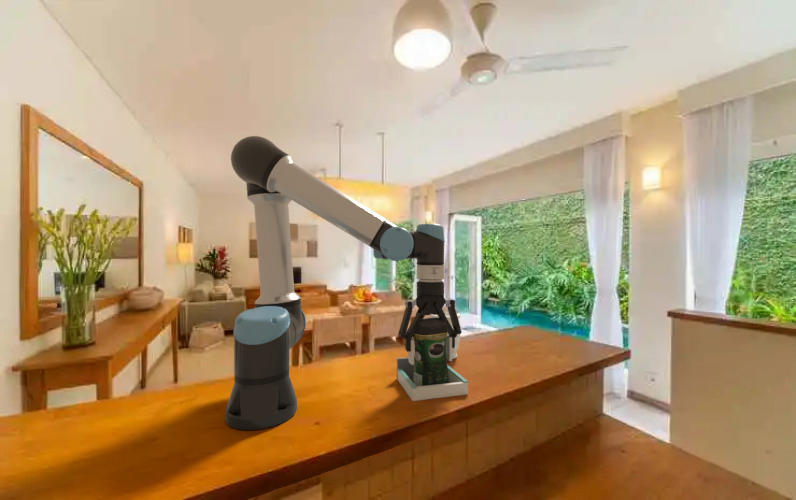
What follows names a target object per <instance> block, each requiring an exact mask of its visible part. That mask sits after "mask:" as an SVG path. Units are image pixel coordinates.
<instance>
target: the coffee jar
mask: <svg viewBox="0 0 796 500" xmlns="http://www.w3.org/2000/svg"><path fill="white" fill-rule="evenodd" d="M447 335H448V330H447V324H446V321H445V320H442V319H440V318H438V317H437V318H432V317H427V318H425V317H424V318H422V320H421V321H419V322H418V323H417V327H416V331H415V333H414V335H413V337H412V339H413V340H414V368H413V379H412V382H413V383H414V384H415V386H416V387H419V386H428V385H437V384H446V383H450V381H449V375H448V367H447V365H448V360H447V358H446V338H447Z"/></svg>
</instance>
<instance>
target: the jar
mask: <svg viewBox="0 0 796 500" xmlns="http://www.w3.org/2000/svg"><path fill="white" fill-rule="evenodd" d="M443 312H444V313H445V316H446V318H447V320H448V321H449V323H450V325H451V327H452V328H453V325H452V322H451V318H450V315H449V311H448V310H447V311H444V310H443ZM456 314H457V317H458V321H459V324H460V325H461V323H460V320H459V319H460V318H461V314H460V313H459V312H456ZM429 316H430V318H437V317H438V315H433V314H431V315H429ZM438 318H439V317H438ZM453 330H454V329H453ZM448 335H449V334H448ZM460 339H461V334H457V337H455V347H454V348H452V360H455V359H456V358H457V357H458V353H457V351H458V350H459V345H460Z"/></svg>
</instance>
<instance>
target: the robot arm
mask: <svg viewBox="0 0 796 500" xmlns="http://www.w3.org/2000/svg"><path fill="white" fill-rule="evenodd" d="M230 161H231V167H232V169H233V171H234V172H235V174H236V175H237V176H238V178H239V179H241V180H242V181H243V182H245V183H246V184H245V185H246V195H247V200H248V201H249V202H251V203H252V204H253V205H254V206H253V207H254V219H255V221H254V222H255V234H256V246H257V248H256V250H257V251H256V252H257V260H258V262H257V263H258V264H257V265H258V275H259V277H258V278H259V291H260V293H259V297H258V298H257V299H256V300H255V301H254V307H253V308H249V309H246V310H244V311H242V312H240V313H239V314H238V315H237V316H236V317H235V321H234V328H233V343H234V344H233V346H234V347H233V348H234V349H233V356H234V358H233V361H234V362H233V363H234V364H233V365H234V366H233V368H234V369H233V373H234V374H233V376H234V377H233V380H234V382H233V386H232V390H231V393H230V395H229V398H228V400H227V404H226V408H225V412H224V413H225V418H224V419H225V421H224V422H225V424H226V425H227V426H229V427H230V428H233V429H235V430H241V431H252V430H254V431H255V430H263V429H268V428H271V427H274V426H278V425H280V424H283V423H284V422H286V421H288V420H290V419H291V418H292V417H293V416H295V414H296V412H297V410H298V397H297V395H296V391H295V388H294V387H293V383H292V380H291V377H290V349H292V347H293V346H295V344H297V343H298V342H299V341H300V340H301V338H302V337H303V335H304V334H305V330H306V326H307V319H306V314H305V312H304V310H303V309H302V302H301V301H302V300H301V298H302V297H301V296H300V295H299V294H298V293H296V292H295V291H296V290H295V282H294V268H293V255H292V254H293V253H292V240H291V238H292V237H291V226H290V212H289V211H290V210H289V204H290V203H291V201H293V202H294V203H297V204H298V205H299V206H301V207H303V208H305V209H306V210H307V211H309V212H311V213H313V214H314V215H316V216H318V217H320V218H321V219H323V220H325V221H326V222H328V223H330V224H331V225H333V226H335V227H336V228H338V229H340V230H341V231H343V232H345V233H347V234H348V235H350V236H352V237H353V238H355V239H356V240H358V241H360V242H362V243H363V244H365V245H367V246H368V247H370V248H371V249H373V250H372V253H373V257H374V259H380V260H381V259H382V260H390V261H393V262H399V261H403V260H407V259H408V260H409V259H411V260H416V279H417V282H416V298H415V299H414V300H408V299H407V300H405V303H404V304H405V309H404V313H403V316H402V320H401V322H400V326H399V330H398V332H397V333H398V336H399V337H400V338H402V339H404V342H405V343H404V346H405V347H404V349H405V351H406V353H408V355H407V356H408V362H409V363H410V364H411V365H414V354H415V342H414V338H413V335H414V333H415V331H416V327H417V323H418V322H419V321H421V320H422V319H425V316H430V315H431V314H433V315H438V317H439V318H440V319H442V320H445V321H446V324H447V330H448V334H449V335H447V338H446V358H447V362H453V359H452V348H454V347H455V337H457V334H460V335H461V334H462V328H461V323H460V324H459V322H460V320H459V321H458V317H457V314H456V313H457V311H456V300H455V299H452V298H447V299H445V282H444V281H443V280H444V279H445V242H446V241H445V231H444V226H443V225H442V224H438V223H421V224H417V226H416V230H413V231H408V230H407V229H406V228H404V227H401V226H398V225H397V224H394V223H393V222H391V221H390V220H388V219H386V218H385V217H383V216H382V215H380V214H379V213H377V212H375V211H373V209H371V208H368V207H367V206H365V205H364V204H362V203H360V202H358V201H357V200H355V199H354V198H352V197H350V196H349V195H347V194H345V193H344V192H342V191H341V190H339V189H337V188H335V186H334V187H333V186H332V185H330V184H329V183H328V182H326V181H323V180H322V179H321V178H319V177H317V176H316V175H314V174H313V173H311V172H309V171H307V170H306V169H304V168H302V167H301V166H299V165H298V164H296V163H294V160H293V157H292V156H291V155H290V154H288V153H287V152H285V151H284V150H282V149H280V148H279V147H277V145H276V144H274V142H272V141H271V140H270V139H267V138H265V137H263V136H259V135H251V136H246V137H243V138H242V139H240V140H239V141H238V142H237V143H236V144H235V145H234V146H233V148H232V151H231V155H230ZM444 306H446V307H447V312H449V315H450V318H451V322H452V325H453V328H452V327H451V325H450V323H449V321H448V320H447V318H446V316H445V313H444V312H443V311H444V310H443V307H444ZM415 307H417V308H418V309H417V311H416V313H415V316H414V318H413V320H412V322H411V323H410V321H411V317H412V313H413V310H414V308H415ZM409 323H410V324H409ZM453 329H454V330H453Z"/></svg>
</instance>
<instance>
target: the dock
mask: <svg viewBox="0 0 796 500" xmlns="http://www.w3.org/2000/svg"><path fill="white" fill-rule="evenodd" d="M447 367H448V375H449V383H446V384H437V385H428V386H419V387H416V386H415V384H414V383H413V368H414V365H411V364H410V363H409V362H408V357H407V356H406V357H397V358H396V380H397V381H398V382H399V384H400V385H401V387H402V389H404V391H405V392H406V394H407V395H408V397H409V398H410V400H411V401H412V402H415V401H424V400H433V399H440V398H449V397H455V396H456V397H457V396H458V397H459V396H464V395H468V394H469V381H468V380H467V379H466V378H465V377H463V375H461V374H460V373H458V372H457V371H456V370H455V369H454V368H452V367H451V366H450V365H448V364H447Z"/></svg>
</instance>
